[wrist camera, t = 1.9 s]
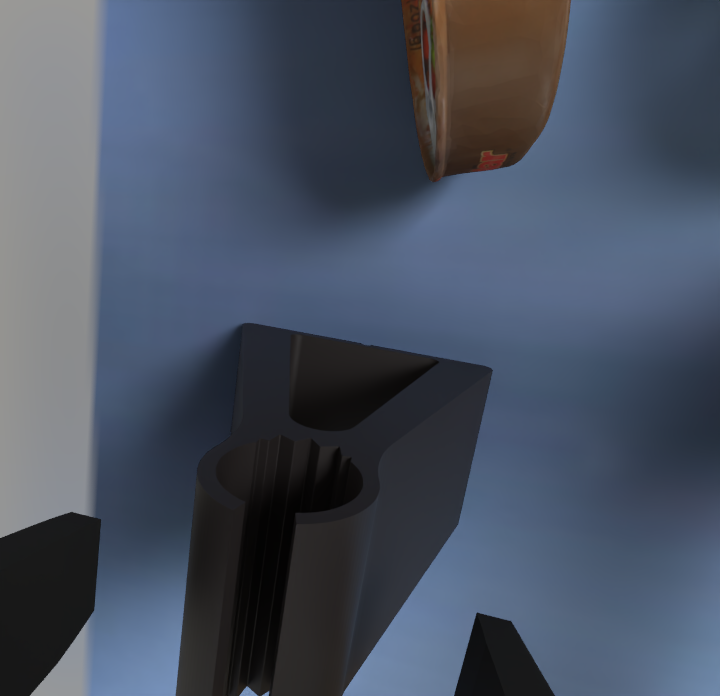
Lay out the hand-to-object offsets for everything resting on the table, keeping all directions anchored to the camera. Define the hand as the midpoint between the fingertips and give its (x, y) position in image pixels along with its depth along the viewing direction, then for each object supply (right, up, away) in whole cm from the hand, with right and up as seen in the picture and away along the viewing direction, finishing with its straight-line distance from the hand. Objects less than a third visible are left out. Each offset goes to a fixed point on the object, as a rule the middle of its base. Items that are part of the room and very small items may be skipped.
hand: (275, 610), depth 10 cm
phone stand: (+1, +2, +10) cm, 10 cm away
